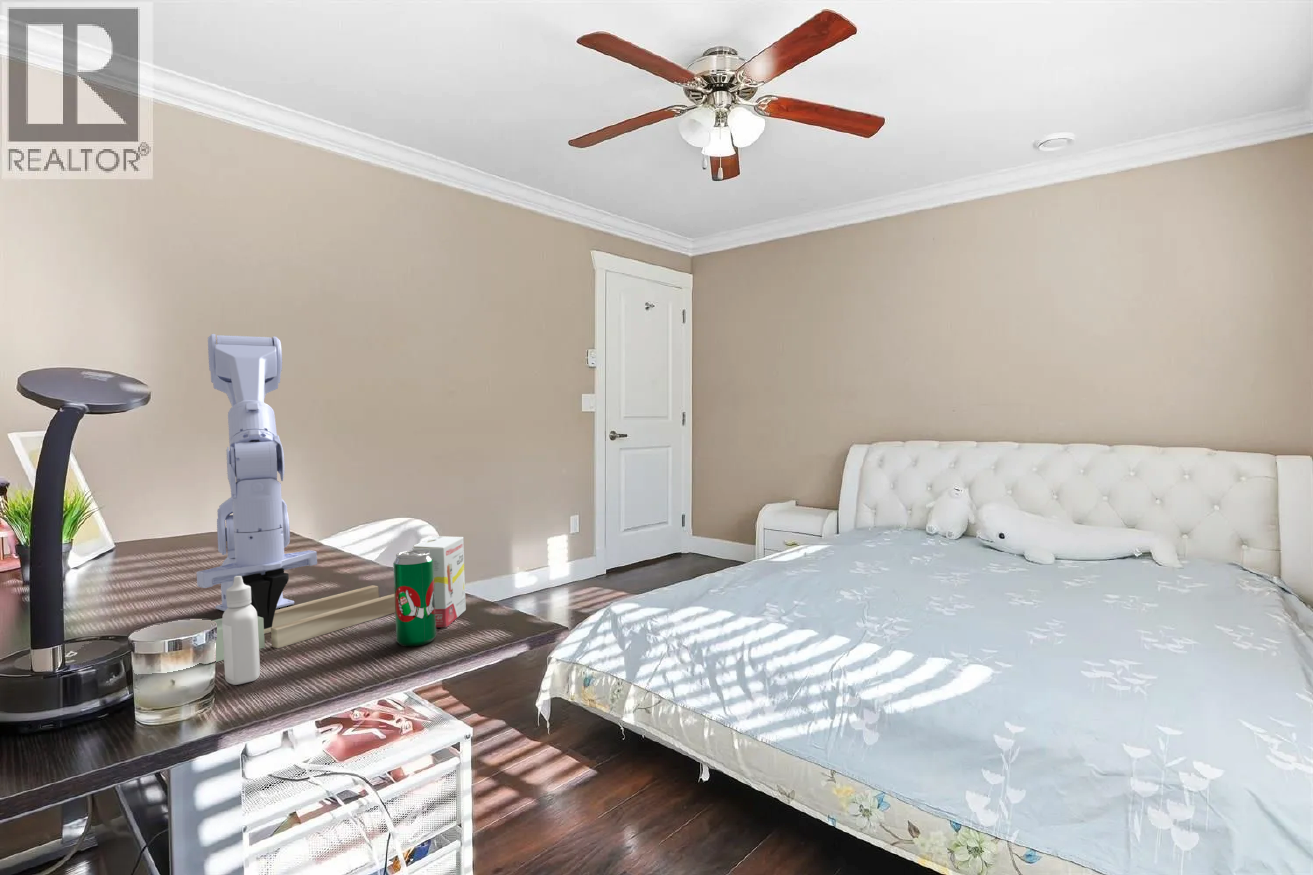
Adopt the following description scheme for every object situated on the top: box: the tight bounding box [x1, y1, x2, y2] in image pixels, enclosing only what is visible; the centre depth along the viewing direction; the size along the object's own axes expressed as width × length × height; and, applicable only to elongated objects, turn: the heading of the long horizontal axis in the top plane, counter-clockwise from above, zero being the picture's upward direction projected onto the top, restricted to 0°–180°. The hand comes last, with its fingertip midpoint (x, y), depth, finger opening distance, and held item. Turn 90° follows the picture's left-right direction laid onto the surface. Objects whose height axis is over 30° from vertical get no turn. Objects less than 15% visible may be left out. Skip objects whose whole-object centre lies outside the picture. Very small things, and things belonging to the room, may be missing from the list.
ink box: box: [411, 535, 467, 628], centre depth 95 cm, size 9×5×12 cm, turn 177°
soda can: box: [392, 549, 437, 648], centre depth 86 cm, size 5×5×12 cm
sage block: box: [212, 616, 266, 663], centre depth 83 cm, size 5×7×4 cm
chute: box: [264, 584, 395, 649], centre depth 95 cm, size 10×20×2 cm, turn 147°
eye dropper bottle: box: [222, 576, 261, 686], centre depth 75 cm, size 4×6×12 cm
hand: (263, 627), depth 87 cm, fingers closed
